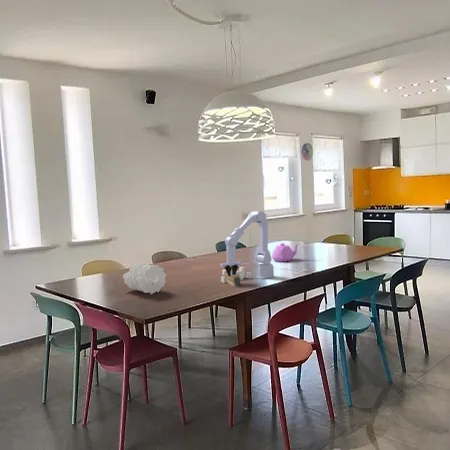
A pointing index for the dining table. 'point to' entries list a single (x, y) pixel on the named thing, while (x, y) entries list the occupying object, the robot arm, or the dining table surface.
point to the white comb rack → (237, 274)
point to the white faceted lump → (145, 277)
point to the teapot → (283, 253)
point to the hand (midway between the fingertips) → (231, 277)
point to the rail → (232, 279)
